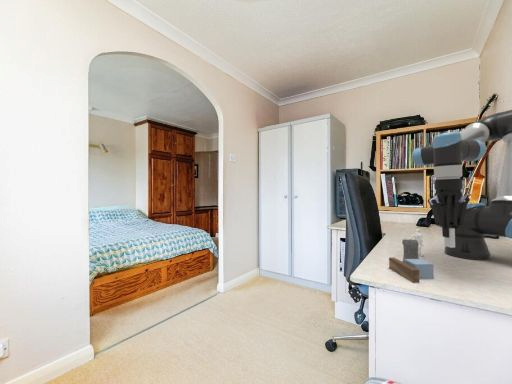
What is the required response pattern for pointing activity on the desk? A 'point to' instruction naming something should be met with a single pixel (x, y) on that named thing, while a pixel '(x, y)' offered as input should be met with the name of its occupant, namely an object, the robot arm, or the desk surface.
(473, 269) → the desk surface
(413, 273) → the board
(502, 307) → the desk surface
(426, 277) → the block
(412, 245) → the stone
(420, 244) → the action figure
